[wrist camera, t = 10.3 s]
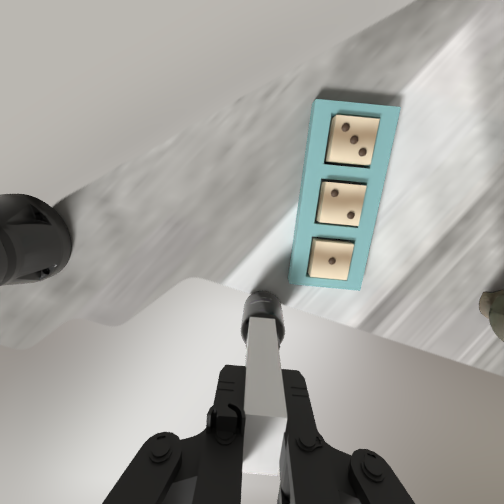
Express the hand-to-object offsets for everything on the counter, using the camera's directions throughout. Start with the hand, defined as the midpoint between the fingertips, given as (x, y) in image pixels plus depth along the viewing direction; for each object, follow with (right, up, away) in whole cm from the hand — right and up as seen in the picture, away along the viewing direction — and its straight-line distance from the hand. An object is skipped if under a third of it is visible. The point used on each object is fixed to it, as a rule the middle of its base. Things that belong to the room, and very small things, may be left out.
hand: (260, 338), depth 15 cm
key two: (+13, +13, +25) cm, 31 cm away
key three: (+14, +22, +23) cm, 35 cm away
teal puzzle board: (+13, +13, +27) cm, 33 cm away
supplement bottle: (+1, -5, +32) cm, 32 cm away
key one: (+12, +4, +28) cm, 31 cm away
